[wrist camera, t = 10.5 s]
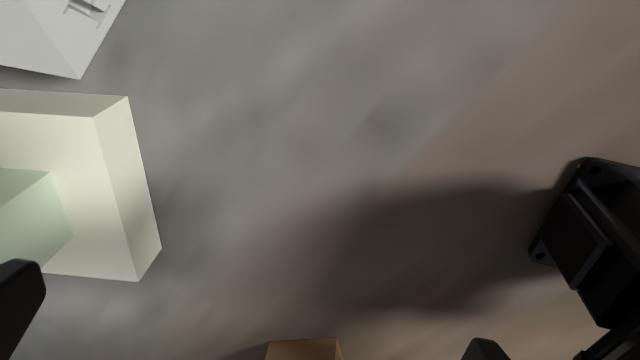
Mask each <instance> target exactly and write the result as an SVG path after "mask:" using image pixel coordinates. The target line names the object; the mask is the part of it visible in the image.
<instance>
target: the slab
mask: <svg viewBox="0 0 640 360" xmlns="http://www.w3.org/2000/svg"><path fill="white" fill-rule="evenodd" d="M0 167H2V168H14V169H26V170H38V171H51V173H52V176H53V179H54V182H55V185H56V187H57V190H58V193H59V196H60V199H61V201H62V204H63V207H64V210H65V213H66V215H67V218H68V221H69V224H70V227H71V229H72V232H73V235H74V237H73V238H72V239H70V240H69V241H68V242H67V243H66V244H65V245H64V246H63V247H62V248H61V249H60V250H59V251H58V252H57V253H56V254H55V255H54V256H53V257H52V258H51V259H50V260H49V261H48V262H47V263H46V264H45V265H44V266H43V267H42V268H41V272H42V273H52V274H62V275H72V276H82V277H92V278H102V279H112V280H122V281H132V282H139V281H140V279H141V278H142V276H143V275H144V274H145V272H146V271H147V269H148V268H149V266H150V265H151V263H152V262H153V260H154V259H155V258H156V256H157V255H158V253H159V252H160V250H161V249H162V246H161V242H160V237H159V233H158V229H157V224H156V220H155V215H154V211H153V206H152V202H151V198H150V193H149V189H148V184H147V180H146V176H145V171H144V167H143V162H142V158H141V153H140V149H139V145H138V140H137V136H136V131H135V127H134V123H133V118H132V114H131V109H130V105H129V101H128V96H120V95H103V94H86V93H70V92H53V91H36V90H20V89H3V88H0Z"/></svg>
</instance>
